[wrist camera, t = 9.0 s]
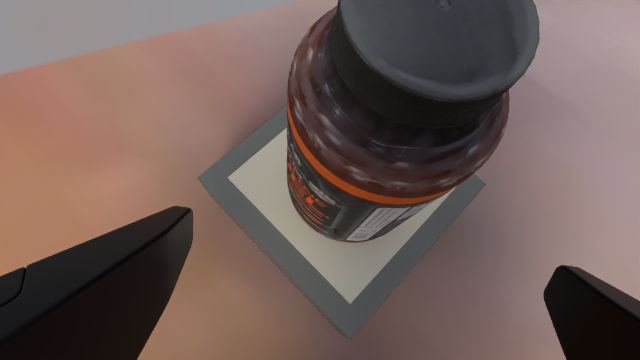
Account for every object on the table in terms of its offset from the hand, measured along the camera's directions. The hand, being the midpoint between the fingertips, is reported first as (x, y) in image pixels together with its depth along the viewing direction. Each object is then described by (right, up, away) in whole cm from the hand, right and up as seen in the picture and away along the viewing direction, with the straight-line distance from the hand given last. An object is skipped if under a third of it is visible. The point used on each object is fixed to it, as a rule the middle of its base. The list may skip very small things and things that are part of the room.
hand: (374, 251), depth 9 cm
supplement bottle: (0, +1, +9) cm, 9 cm away
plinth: (0, +1, +12) cm, 12 cm away
